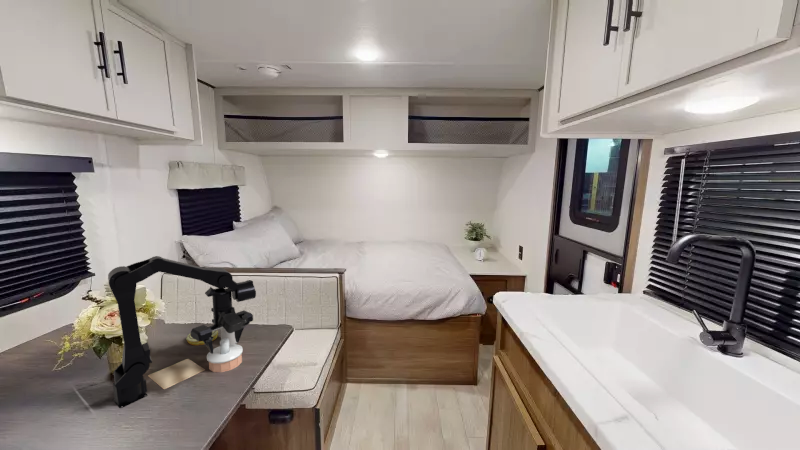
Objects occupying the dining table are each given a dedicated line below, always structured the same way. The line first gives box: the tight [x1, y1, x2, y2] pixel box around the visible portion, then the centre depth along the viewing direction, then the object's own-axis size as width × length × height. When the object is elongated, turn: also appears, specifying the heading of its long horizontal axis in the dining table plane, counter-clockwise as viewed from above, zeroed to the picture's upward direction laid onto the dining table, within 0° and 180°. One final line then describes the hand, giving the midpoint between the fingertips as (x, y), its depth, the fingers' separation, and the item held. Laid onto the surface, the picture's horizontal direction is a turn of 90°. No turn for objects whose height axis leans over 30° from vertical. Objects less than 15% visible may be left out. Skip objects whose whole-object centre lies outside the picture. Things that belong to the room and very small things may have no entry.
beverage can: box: [219, 311, 238, 345], centre depth 123 cm, size 6×6×12 cm
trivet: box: [147, 358, 206, 390], centre depth 104 cm, size 12×12×1 cm
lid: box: [206, 339, 244, 363], centre depth 109 cm, size 11×11×5 cm
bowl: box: [208, 353, 243, 373], centre depth 109 cm, size 10×10×4 cm
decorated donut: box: [185, 329, 219, 346], centre depth 125 cm, size 10×11×4 cm
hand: (225, 347), depth 109 cm, fingers open, 9 cm apart
